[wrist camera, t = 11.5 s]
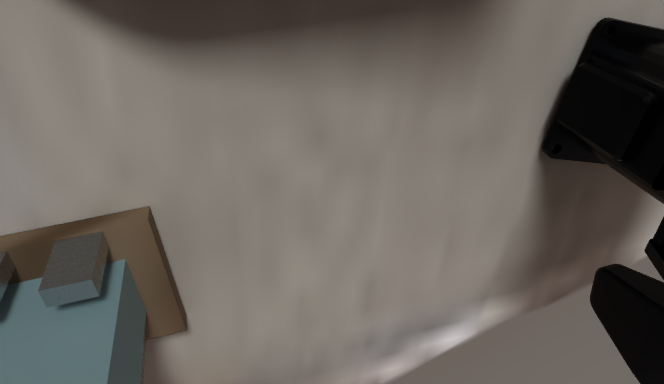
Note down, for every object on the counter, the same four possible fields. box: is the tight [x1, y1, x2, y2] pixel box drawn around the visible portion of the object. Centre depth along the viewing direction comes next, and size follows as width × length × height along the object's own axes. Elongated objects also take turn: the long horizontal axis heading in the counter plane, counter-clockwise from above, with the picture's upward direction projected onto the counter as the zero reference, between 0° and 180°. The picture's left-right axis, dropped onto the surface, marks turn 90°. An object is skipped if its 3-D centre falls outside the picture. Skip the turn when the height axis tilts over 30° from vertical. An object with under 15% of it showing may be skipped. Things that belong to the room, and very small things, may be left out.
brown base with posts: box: [0, 206, 186, 384], centre depth 21 cm, size 9×6×4 cm
